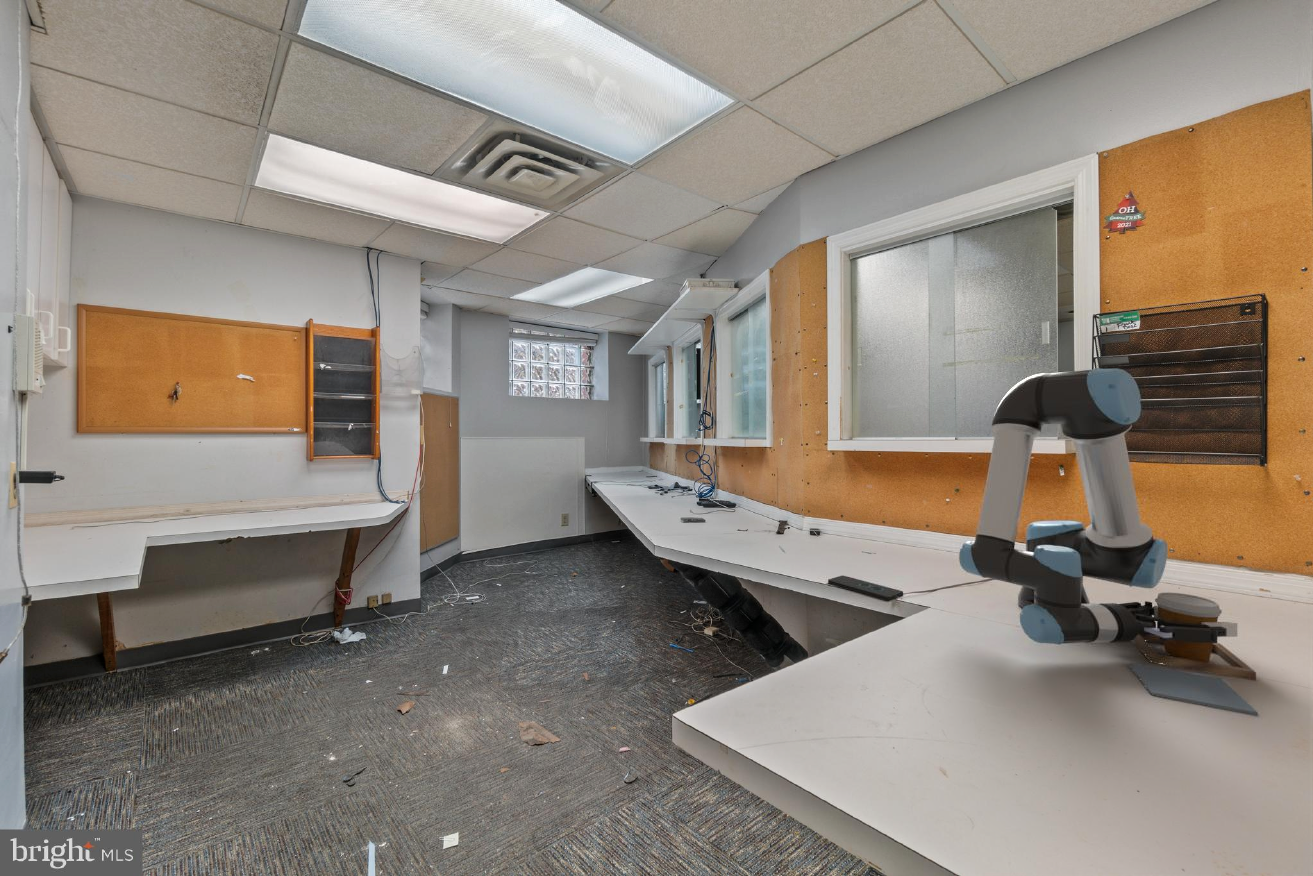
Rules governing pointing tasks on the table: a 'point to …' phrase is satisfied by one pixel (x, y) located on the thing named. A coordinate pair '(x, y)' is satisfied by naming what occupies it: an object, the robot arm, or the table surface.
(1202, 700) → the rubber mat
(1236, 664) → the cup holder frame
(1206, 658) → the disposable coffee cup
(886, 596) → the smart home device
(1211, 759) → the table surface
